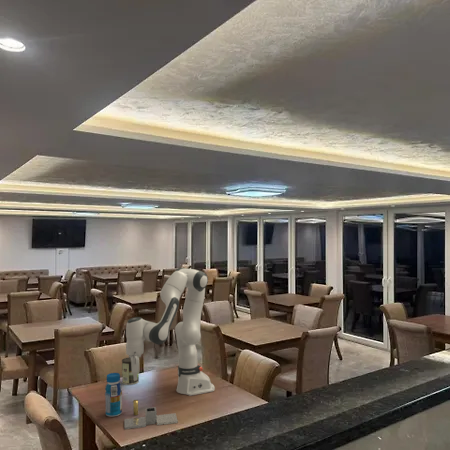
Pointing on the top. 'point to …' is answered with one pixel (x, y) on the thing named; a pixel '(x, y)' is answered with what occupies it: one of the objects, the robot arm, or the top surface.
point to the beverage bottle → (113, 395)
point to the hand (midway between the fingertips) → (135, 376)
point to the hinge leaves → (150, 419)
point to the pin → (135, 407)
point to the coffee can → (128, 372)
